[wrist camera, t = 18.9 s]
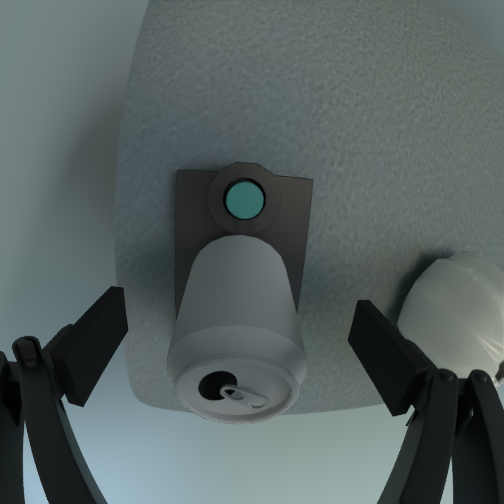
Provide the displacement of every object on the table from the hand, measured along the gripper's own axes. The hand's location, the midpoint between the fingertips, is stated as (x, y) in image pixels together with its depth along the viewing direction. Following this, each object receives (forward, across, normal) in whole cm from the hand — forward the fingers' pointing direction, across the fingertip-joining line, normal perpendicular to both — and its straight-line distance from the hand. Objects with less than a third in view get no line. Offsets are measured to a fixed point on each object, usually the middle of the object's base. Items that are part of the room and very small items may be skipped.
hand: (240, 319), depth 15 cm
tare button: (+8, 0, +6) cm, 10 cm away
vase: (+10, +22, -4) cm, 24 cm away
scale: (+10, 0, 0) cm, 10 cm away
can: (+8, 0, 0) cm, 9 cm away
